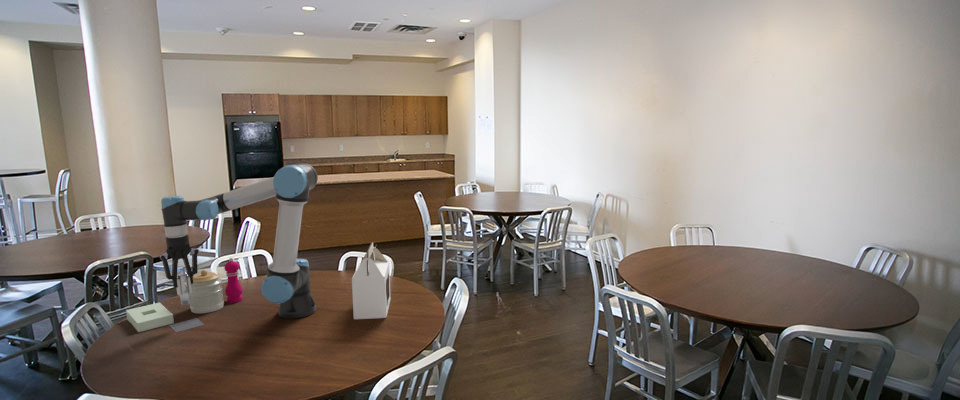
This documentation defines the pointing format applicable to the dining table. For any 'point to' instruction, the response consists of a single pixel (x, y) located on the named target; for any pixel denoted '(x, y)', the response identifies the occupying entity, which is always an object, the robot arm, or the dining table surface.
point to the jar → (206, 293)
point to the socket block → (149, 317)
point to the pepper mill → (233, 282)
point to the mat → (186, 325)
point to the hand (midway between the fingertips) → (184, 293)
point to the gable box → (371, 286)
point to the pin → (184, 289)
